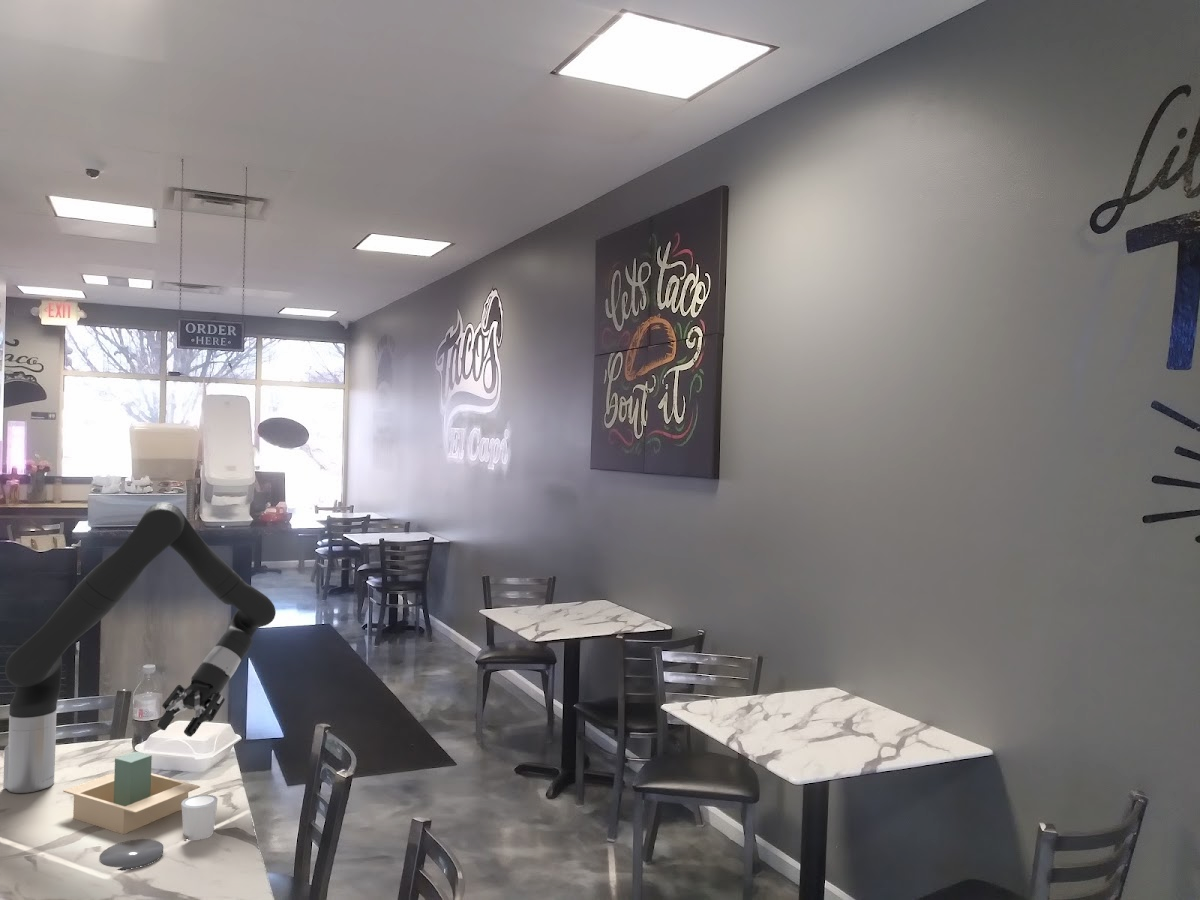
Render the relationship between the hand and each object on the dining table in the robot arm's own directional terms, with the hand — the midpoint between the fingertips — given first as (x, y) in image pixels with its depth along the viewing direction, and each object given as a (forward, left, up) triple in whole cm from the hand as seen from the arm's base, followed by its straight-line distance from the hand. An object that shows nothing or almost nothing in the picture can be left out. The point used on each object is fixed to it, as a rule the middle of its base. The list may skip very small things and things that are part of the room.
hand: (173, 731), depth 198 cm
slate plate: (+11, -26, -15) cm, 32 cm away
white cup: (+17, -14, -16) cm, 27 cm away
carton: (-2, -10, -15) cm, 18 cm away
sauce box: (-2, -10, -15) cm, 18 cm away
